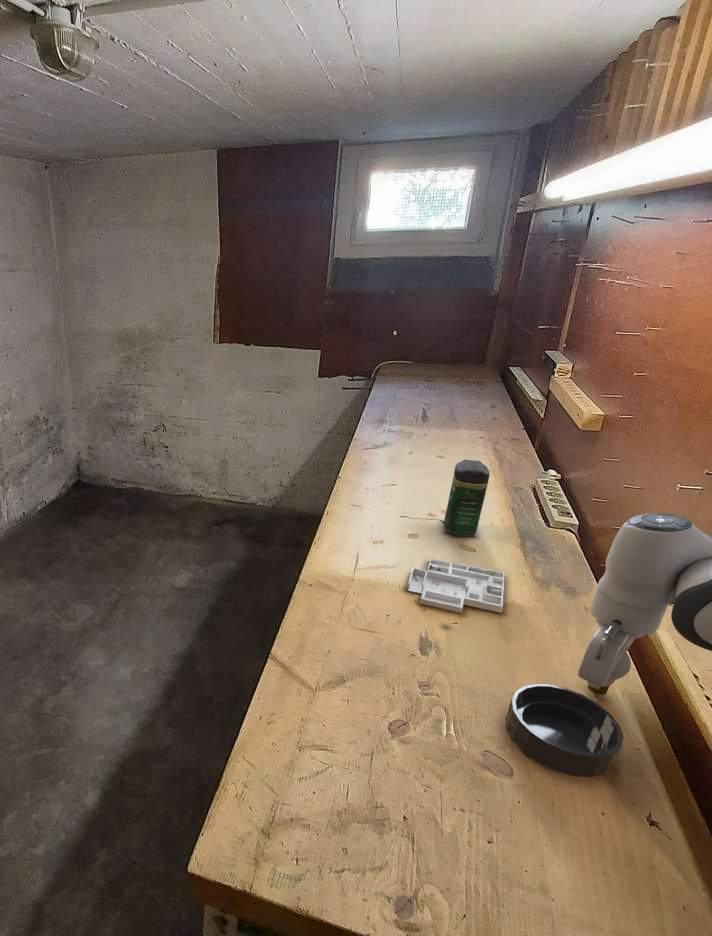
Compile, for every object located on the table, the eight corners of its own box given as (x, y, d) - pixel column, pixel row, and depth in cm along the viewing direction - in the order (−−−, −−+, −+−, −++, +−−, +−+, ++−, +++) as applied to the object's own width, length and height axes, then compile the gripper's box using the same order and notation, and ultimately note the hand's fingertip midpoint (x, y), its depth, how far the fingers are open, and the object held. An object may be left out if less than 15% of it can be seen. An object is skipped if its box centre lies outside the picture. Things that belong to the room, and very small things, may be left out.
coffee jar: (478, 539, 144) (493, 472, 136) (444, 535, 146) (457, 469, 138) (474, 522, 152) (488, 458, 144) (442, 519, 155) (454, 456, 146)
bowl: (558, 699, 95) (566, 676, 93) (637, 768, 83) (648, 744, 80) (484, 715, 93) (491, 692, 90) (554, 789, 80) (564, 765, 78)
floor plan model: (399, 615, 117) (401, 608, 116) (415, 559, 137) (417, 552, 136) (501, 640, 109) (504, 632, 108) (503, 576, 128) (505, 569, 127)
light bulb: (583, 703, 94) (600, 655, 90) (569, 679, 99) (585, 633, 95) (623, 708, 93) (643, 660, 88) (607, 683, 98) (625, 637, 93)
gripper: (631, 648, 80) (602, 719, 86) (667, 591, 92) (640, 657, 98) (580, 628, 85) (556, 696, 91) (621, 576, 96) (598, 640, 102)
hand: (600, 676), depth 94 cm, fingers closed on light bulb, 5 cm apart
